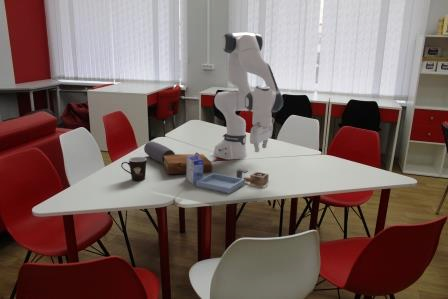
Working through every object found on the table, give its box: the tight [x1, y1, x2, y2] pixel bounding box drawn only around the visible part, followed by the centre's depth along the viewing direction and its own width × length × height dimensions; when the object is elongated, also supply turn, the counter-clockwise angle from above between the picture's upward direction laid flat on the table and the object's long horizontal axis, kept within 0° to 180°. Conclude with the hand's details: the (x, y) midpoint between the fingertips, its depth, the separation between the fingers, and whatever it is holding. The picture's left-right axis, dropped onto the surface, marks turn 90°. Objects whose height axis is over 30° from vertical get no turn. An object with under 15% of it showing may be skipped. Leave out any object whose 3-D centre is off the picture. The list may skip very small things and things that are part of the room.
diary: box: [161, 153, 213, 175], centre depth 204 cm, size 23×19×6 cm
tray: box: [195, 172, 246, 195], centre depth 181 cm, size 18×15×3 cm
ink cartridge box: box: [185, 152, 204, 186], centre depth 186 cm, size 10×6×14 cm, turn 26°
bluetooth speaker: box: [143, 141, 176, 164], centre depth 218 cm, size 23×9×10 cm, turn 36°
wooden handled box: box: [236, 168, 269, 189], centre depth 187 cm, size 18×9×5 cm, turn 59°
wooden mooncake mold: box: [242, 171, 269, 186], centre depth 186 cm, size 12×7×4 cm, turn 59°
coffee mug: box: [120, 156, 148, 182], centre depth 189 cm, size 12×9×10 cm
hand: (260, 149), depth 181 cm, fingers open, 8 cm apart
